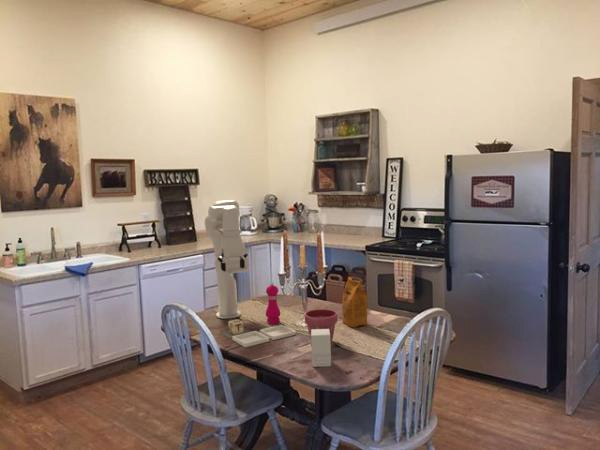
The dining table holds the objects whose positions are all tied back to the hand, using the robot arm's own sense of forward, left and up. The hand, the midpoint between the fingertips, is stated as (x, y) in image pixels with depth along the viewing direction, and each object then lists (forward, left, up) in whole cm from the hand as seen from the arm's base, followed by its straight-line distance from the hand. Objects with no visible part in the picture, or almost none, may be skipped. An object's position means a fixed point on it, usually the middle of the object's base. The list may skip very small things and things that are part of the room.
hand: (233, 269), depth 244 cm
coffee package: (+32, +47, -28) cm, 64 cm away
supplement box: (+61, +6, -28) cm, 68 cm away
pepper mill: (+5, +18, -28) cm, 34 cm away
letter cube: (+8, -4, -28) cm, 29 cm away
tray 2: (+22, +10, -28) cm, 37 cm away
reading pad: (+8, -4, -28) cm, 30 cm away
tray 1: (+22, -4, -28) cm, 36 cm away
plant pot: (+42, +20, -28) cm, 55 cm away
